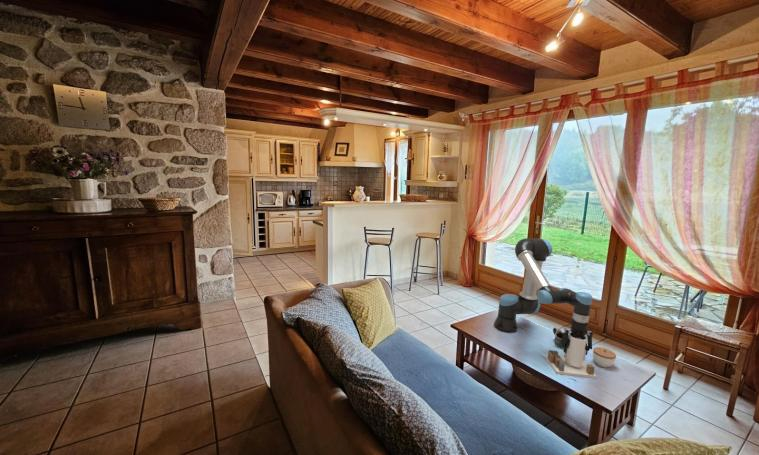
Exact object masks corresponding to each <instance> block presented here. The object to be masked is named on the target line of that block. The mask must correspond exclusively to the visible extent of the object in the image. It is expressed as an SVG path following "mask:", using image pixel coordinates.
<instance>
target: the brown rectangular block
mask: <svg viewBox="0 0 759 455" xmlns="http://www.w3.org/2000/svg"><path fill="white" fill-rule="evenodd" d="M551 353H552V354H553V356H554V361H553V363H554V364H555V365H556V367H559V362H560V360H562V358H561V357H560V356H561V355H560V354H559V352H558V351H556V350H553V351H551ZM562 361H563V360H562Z"/></svg>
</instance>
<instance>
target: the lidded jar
mask: <svg viewBox="0 0 759 455" xmlns="http://www.w3.org/2000/svg"><path fill="white" fill-rule="evenodd" d="M592 357H593V361H594V362H595V364H596V365H598V366H600V367H602V368H610V367H611V366H613V365H614V364H615V362H616V358H617V354H616V353H615V352H614V351H612V350H610V349H607V348H605V347H601V346H599V347H598V346H597V347H596V346H595V347H593V348H592Z"/></svg>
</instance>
